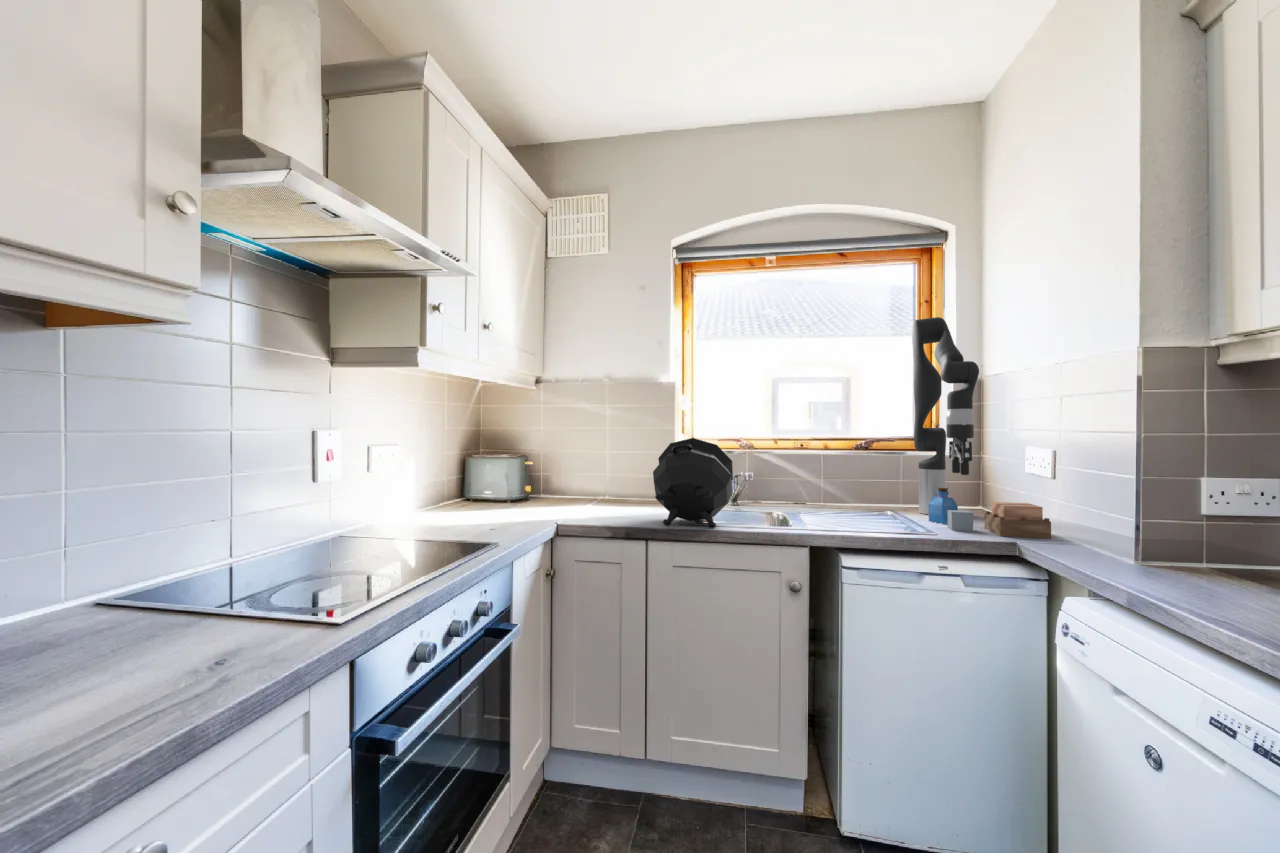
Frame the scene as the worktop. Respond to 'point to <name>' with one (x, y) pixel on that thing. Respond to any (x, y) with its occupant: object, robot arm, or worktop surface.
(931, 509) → the perfume bottle
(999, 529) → the brown studded stepped block
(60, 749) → the worktop surface
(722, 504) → the cauldron
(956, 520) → the grey brick
